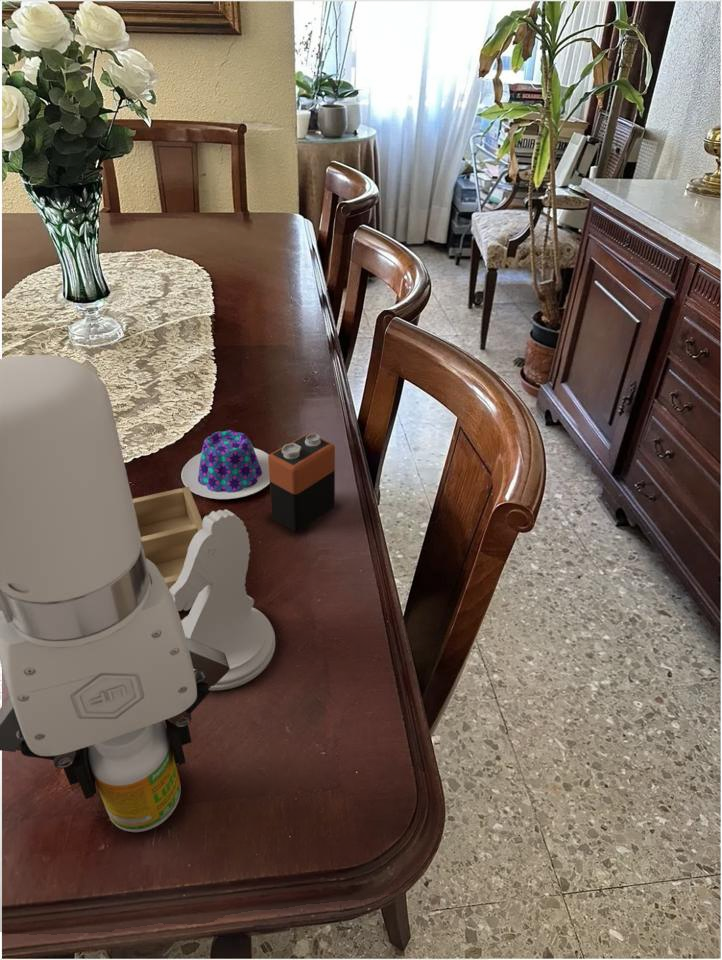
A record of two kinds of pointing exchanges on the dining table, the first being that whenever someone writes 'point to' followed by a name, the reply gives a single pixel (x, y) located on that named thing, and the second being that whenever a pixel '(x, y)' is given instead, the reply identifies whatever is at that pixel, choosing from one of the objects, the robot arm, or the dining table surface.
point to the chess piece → (223, 599)
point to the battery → (302, 481)
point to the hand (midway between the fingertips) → (133, 761)
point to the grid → (168, 529)
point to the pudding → (227, 467)
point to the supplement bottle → (137, 777)
